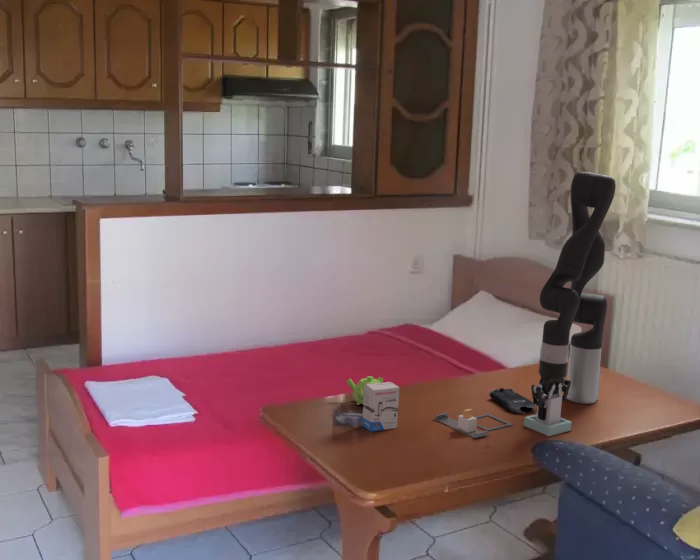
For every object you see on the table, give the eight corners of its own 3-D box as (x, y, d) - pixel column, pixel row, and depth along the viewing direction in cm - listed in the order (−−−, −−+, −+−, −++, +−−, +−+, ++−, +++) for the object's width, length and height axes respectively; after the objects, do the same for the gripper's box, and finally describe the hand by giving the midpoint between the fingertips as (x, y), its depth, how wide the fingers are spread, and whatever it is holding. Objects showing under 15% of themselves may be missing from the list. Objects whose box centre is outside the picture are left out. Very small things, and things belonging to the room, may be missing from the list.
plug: (547, 419, 227) (550, 387, 226) (559, 424, 224) (562, 392, 222) (536, 422, 225) (539, 390, 223) (548, 427, 221) (551, 395, 220)
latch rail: (446, 416, 230) (446, 412, 230) (487, 436, 217) (488, 431, 216) (434, 419, 227) (434, 414, 227) (475, 439, 214) (476, 434, 214)
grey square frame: (488, 414, 233) (488, 413, 233) (512, 425, 225) (512, 424, 225) (463, 420, 228) (463, 419, 228) (487, 431, 220) (487, 430, 220)
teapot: (392, 410, 233) (394, 382, 232) (354, 411, 230) (355, 383, 229) (381, 397, 244) (382, 370, 242) (344, 399, 241) (345, 371, 239)
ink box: (370, 432, 215) (372, 389, 213) (361, 426, 220) (363, 384, 217) (397, 428, 219) (400, 386, 217) (388, 422, 224) (391, 381, 221)
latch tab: (465, 425, 222) (467, 406, 221) (475, 430, 219) (477, 411, 218) (457, 427, 221) (459, 408, 220) (467, 432, 217) (469, 413, 216)
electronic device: (486, 404, 247) (514, 414, 233) (488, 386, 247) (516, 395, 233) (511, 406, 251) (540, 415, 237) (513, 388, 251) (542, 397, 237)
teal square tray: (545, 420, 231) (546, 411, 230) (570, 430, 224) (571, 421, 223) (523, 425, 226) (524, 417, 225) (548, 436, 218) (549, 427, 218)
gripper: (546, 365, 214) (541, 426, 217) (581, 358, 222) (575, 418, 225) (525, 358, 220) (520, 418, 223) (560, 352, 228) (554, 409, 231)
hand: (548, 417), depth 224 cm, fingers closed on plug, 4 cm apart
